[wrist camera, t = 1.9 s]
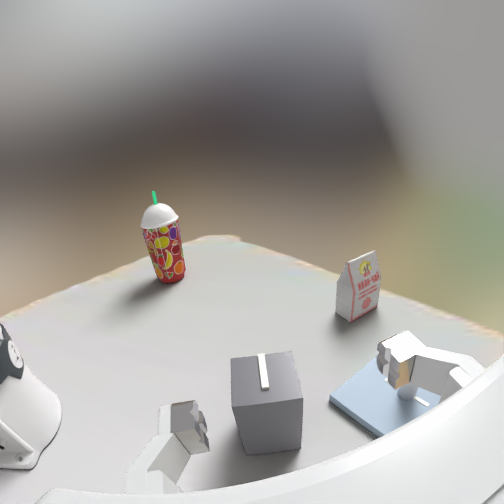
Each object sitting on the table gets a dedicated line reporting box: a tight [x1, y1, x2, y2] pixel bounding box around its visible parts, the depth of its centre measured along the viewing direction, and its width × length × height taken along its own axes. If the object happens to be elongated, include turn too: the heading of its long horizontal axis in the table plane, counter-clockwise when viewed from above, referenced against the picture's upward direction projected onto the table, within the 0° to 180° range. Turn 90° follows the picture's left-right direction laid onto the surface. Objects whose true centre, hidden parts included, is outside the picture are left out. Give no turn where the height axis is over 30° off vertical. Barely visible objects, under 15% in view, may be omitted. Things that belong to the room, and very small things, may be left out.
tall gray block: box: [231, 351, 303, 455], centre depth 26 cm, size 6×6×10 cm
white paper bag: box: [335, 251, 381, 322], centre depth 44 cm, size 4×7×10 cm, turn 118°
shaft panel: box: [329, 356, 441, 438], centre depth 27 cm, size 13×14×8 cm
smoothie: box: [140, 191, 186, 283], centre depth 60 cm, size 8×8×20 cm
